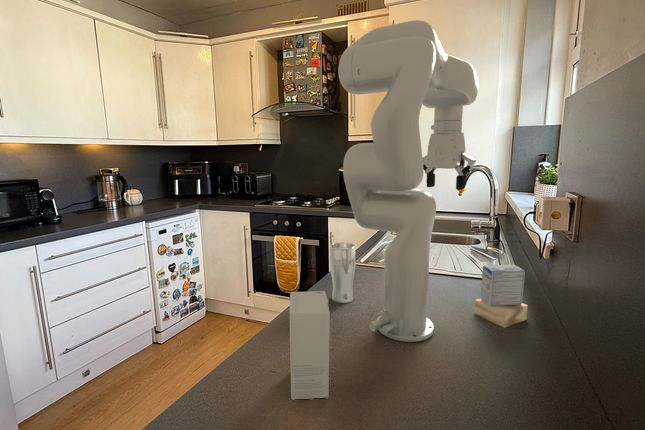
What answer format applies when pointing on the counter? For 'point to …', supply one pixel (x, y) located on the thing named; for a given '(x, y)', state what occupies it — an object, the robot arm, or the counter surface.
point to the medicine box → (502, 285)
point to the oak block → (501, 313)
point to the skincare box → (309, 344)
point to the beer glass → (342, 271)
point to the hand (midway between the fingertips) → (444, 188)
